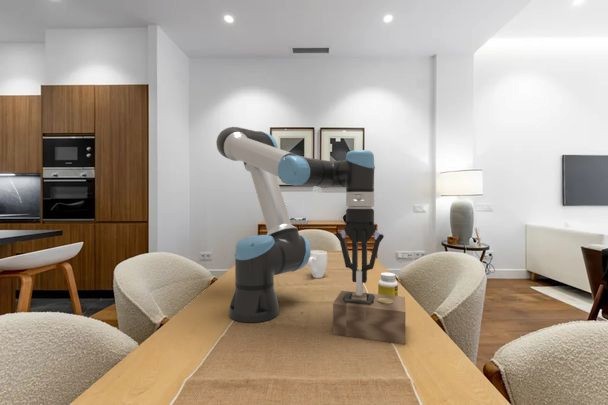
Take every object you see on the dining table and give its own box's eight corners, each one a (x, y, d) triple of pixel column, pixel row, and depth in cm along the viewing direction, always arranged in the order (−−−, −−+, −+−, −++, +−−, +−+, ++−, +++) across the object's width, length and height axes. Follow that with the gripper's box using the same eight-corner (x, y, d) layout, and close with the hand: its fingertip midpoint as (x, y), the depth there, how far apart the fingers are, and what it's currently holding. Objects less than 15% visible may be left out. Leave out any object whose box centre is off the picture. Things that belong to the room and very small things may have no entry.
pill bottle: (398, 311, 97) (398, 276, 97) (378, 310, 98) (378, 275, 98) (396, 305, 103) (397, 272, 103) (377, 303, 104) (378, 271, 104)
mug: (314, 273, 145) (314, 249, 145) (330, 276, 141) (330, 251, 141) (301, 279, 135) (301, 253, 135) (318, 282, 131) (318, 255, 130)
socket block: (332, 334, 81) (333, 301, 81) (341, 317, 92) (341, 288, 92) (405, 344, 75) (405, 309, 75) (404, 325, 87) (404, 294, 87)
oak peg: (350, 325, 83) (350, 296, 83) (352, 320, 87) (352, 292, 87) (365, 327, 82) (365, 297, 82) (366, 322, 86) (367, 293, 86)
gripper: (333, 207, 83) (333, 295, 83) (384, 208, 79) (383, 300, 79) (338, 207, 90) (338, 288, 90) (385, 207, 86) (384, 292, 86)
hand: (359, 294), depth 84 cm, fingers closed
